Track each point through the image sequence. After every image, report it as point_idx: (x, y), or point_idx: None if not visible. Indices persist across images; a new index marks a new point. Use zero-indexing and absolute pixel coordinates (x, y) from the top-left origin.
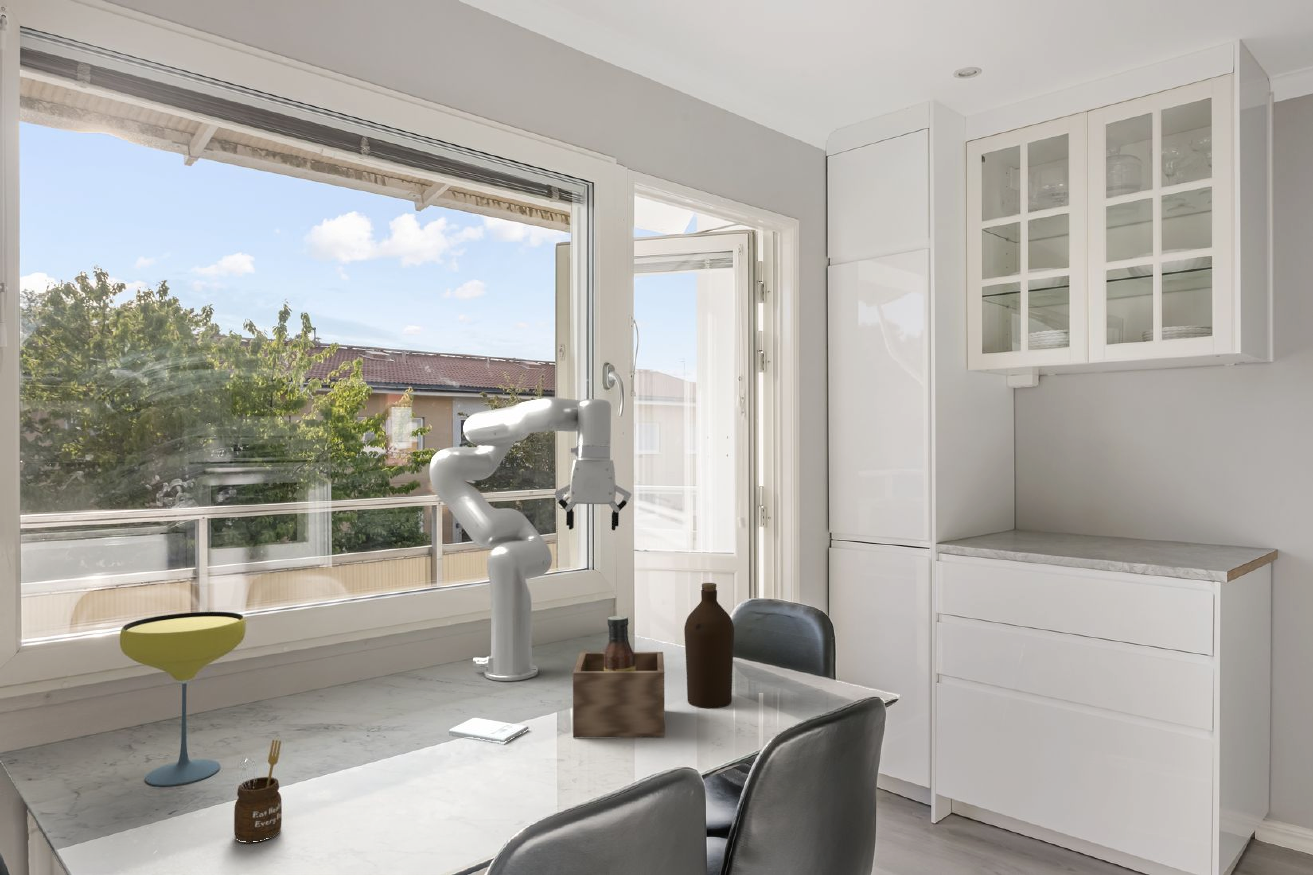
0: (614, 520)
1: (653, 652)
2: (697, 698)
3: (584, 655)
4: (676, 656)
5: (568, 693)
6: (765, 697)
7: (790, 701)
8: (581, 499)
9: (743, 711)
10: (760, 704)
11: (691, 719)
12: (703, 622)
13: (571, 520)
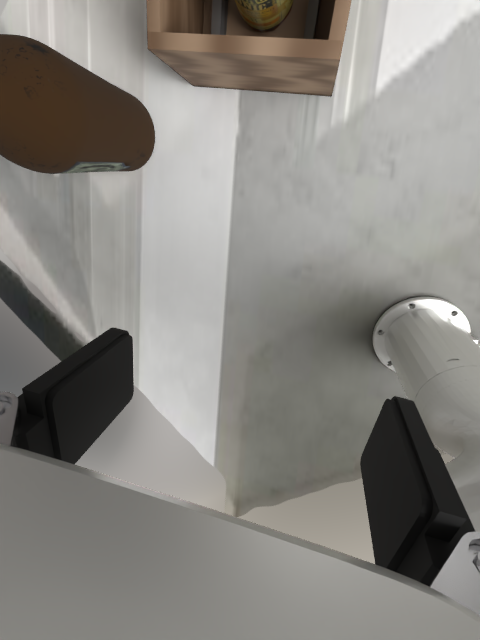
0: (74, 353)
1: (168, 42)
2: (134, 98)
3: (335, 13)
4: (164, 373)
5: (338, 211)
6: None
7: None
8: (349, 629)
9: None
10: None
11: None
12: (16, 39)
13: (408, 443)
